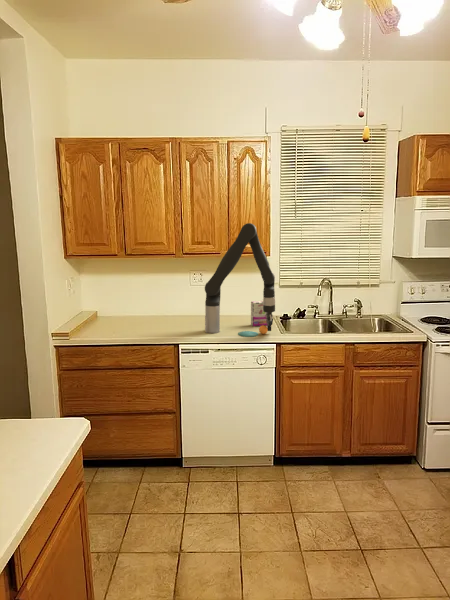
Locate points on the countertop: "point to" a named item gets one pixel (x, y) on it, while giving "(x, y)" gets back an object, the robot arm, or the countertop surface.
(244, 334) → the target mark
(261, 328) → the ball
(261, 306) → the candy bar box
